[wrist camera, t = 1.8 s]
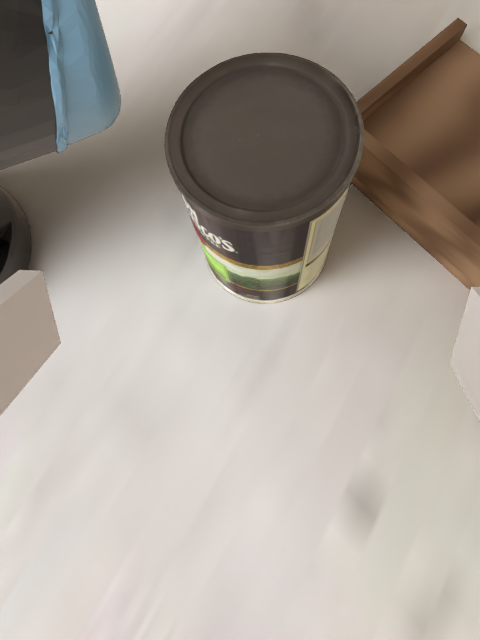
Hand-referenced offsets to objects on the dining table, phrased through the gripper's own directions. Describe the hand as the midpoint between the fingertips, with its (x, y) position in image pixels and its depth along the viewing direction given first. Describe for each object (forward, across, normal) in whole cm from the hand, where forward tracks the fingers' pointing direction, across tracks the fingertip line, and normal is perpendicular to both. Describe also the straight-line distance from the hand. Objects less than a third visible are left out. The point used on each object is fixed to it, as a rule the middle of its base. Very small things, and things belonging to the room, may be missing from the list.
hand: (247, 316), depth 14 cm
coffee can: (+22, 0, -6) cm, 23 cm away
